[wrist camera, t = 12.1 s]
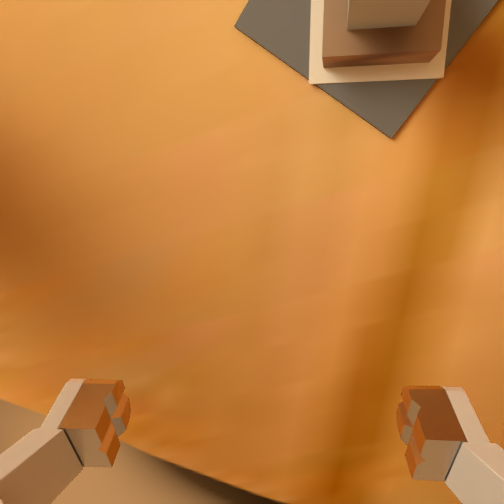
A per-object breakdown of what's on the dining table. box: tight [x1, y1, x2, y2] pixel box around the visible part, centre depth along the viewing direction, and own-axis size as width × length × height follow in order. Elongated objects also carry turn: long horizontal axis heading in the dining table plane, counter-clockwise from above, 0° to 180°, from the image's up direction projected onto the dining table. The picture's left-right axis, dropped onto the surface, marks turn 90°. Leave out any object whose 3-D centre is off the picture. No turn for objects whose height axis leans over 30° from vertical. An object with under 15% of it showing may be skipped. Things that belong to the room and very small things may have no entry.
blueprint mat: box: [235, 0, 498, 138], centre depth 26 cm, size 14×12×1 cm
